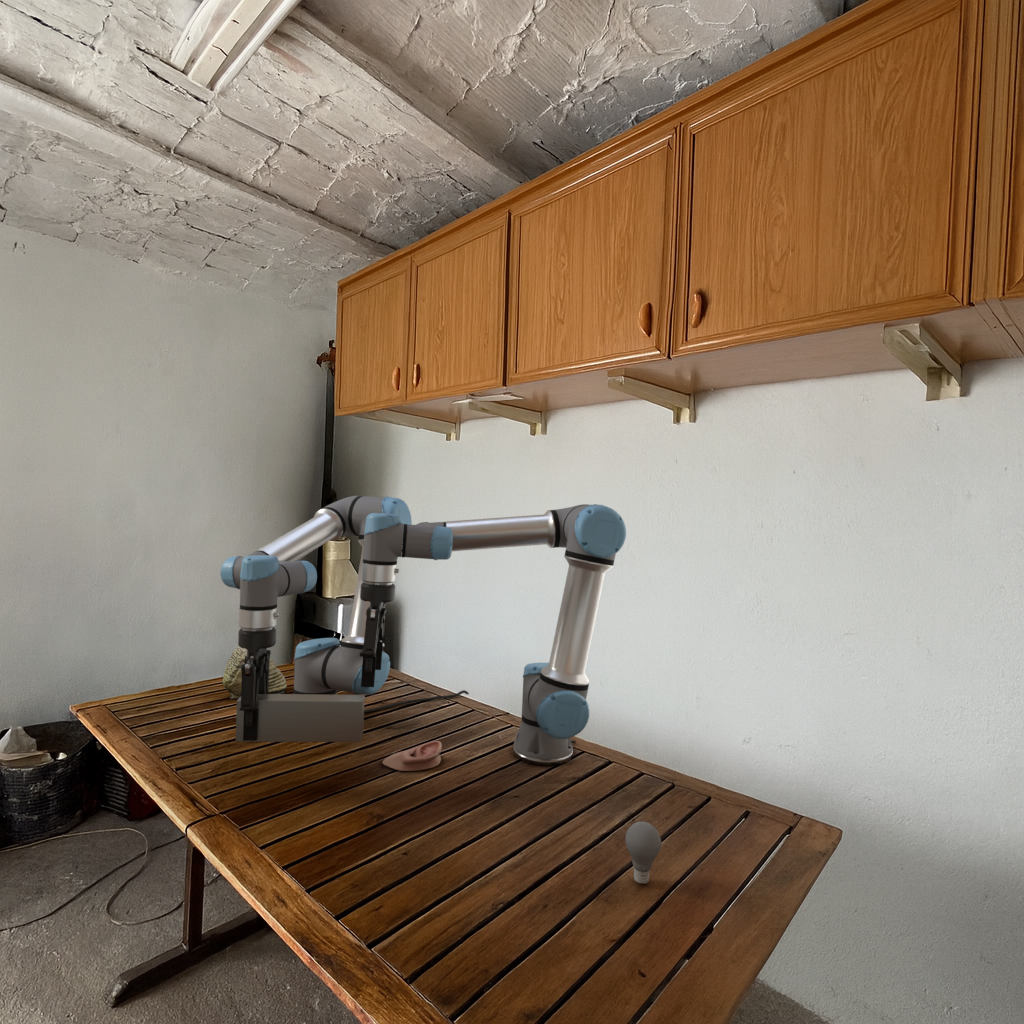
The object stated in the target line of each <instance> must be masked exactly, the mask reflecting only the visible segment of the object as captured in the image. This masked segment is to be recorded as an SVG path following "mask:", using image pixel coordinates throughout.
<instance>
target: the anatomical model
mask: <svg viewBox="0 0 1024 1024" xmlns="http://www.w3.org/2000/svg"><path fill="white" fill-rule="evenodd" d="M442 751H443V744H442V742H441V741H439V740H434V741H429V742H426V743H423V744H420V745H417V746H414V747H412V748H410V749H407V750H402V751H399V752H394V753H393V754H390V755H388V756H387V757H386V758H384V760H382V764H383V765H384V766H385V767H388V768H390V769H393V770H396V771H400V772H413V771H422V770H428V769H432V768H435V767H437V766H439V764H441V761H442V757H441V755H440V754H441V752H442Z"/></svg>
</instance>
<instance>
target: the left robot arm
mask: <svg viewBox="0 0 1024 1024" xmlns="http://www.w3.org/2000/svg"><path fill="white" fill-rule="evenodd" d="M371 513H384V514H395V515H399V516H400V521H401V523H403V524H408V525H413V523H412V522H413V521H412V514H411V510H410V508H409V506H408V504H407V503H406V501H404V500H403V499H401V498H400V497H399V498H398V497H392V496H369V495H368V496H367V495H352V496H347V497H344V498H341V499H339V500H337V501H336V500H335V501H334V502H332V503H330V504H327V505H326V506H324V507H322V508H320V509H319V510H317V511H316V512H315V514H314V515H313V517H312V518H310V519H308V520H307V521H305V522H304V523H302V524H300V525H298V526H297V527H295V528H293V529H291V530H290V531H288V532H286V533H284V534H283V535H281V536H279V537H277V538H276V539H274V540H272V541H270V542H269V543H267V544H265V545H264V546H262V547H260V548H257V550H255V551H253V552H251V553H249V554H248V555H246V556H242V555H238V556H230V557H228V558H227V559H225V560H224V562H223V563H222V565H221V567H220V578H221V582H222V583H223V585H225V586H226V587H228V588H233V589H237V590H239V608H238V627H239V629H238V638H237V639H238V640H237V645H238V647H241V648H245V649H247V651H248V652H247V656H245V660H244V664H242V665H241V672H242V684H241V708H239V710H240V711H244V725H243V741H256V740H257V733H258V709H257V700H258V694H268V692H269V691H268V688H269V662H270V658H271V654H272V652H271V650H270V649H269V648H272V647H274V646H275V645H276V644H277V628H275V627H276V626H277V618H279V617H280V613H279V612H277V609H278V598H280V597H287V596H292V595H302V594H304V593H306V592H309V591H311V590H312V589H314V587H315V586H316V584H317V580H318V572H317V570H316V567H315V566H314V564H312V562H309V561H307V560H301V559H303V558H304V557H305V556H308V555H309V554H310V553H312V552H313V551H315V550H316V549H318V548H320V547H322V546H323V545H324V544H326V543H327V542H334V541H337V540H339V539H340V538H343V537H358V539H357V543H359V545H360V546H361V553H360V554H361V556H360V562H359V566H358V572H357V579H356V586H355V591H354V596H353V597H354V598H353V603H352V609H351V615H350V620H349V627H348V633H347V635H346V636H344V637H343V638H342V639H341V641H340V640H339V638H337V637H321V638H313V639H307V640H304V641H302V642H299V643H298V644H297V645H296V647H295V652H294V653H295V654H294V657H293V660H294V661H293V662H294V663H293V664H294V668H293V694H323V695H338V691H340V692H346V693H351V694H354V695H365V696H371V695H374V694H376V693H377V692H379V691H380V690H381V689H382V687H383V686H384V685H385V683H386V681H387V679H388V677H389V674H390V670H391V661H390V656H389V654H388V653H386V652H385V643H384V642H383V641H381V642H383V649H382V663H381V670H375V682H374V687H361V677H362V664H363V657H361V656H360V652H362V651H363V644H364V637H365V629H366V618H367V617H366V611H367V609H368V607H370V602H369V601H363V600H361V599H360V590H361V584H362V583H363V582H364V581H362V580H361V573H362V562H363V549H364V533H365V526H366V518H367V516H368V515H369V514H371ZM403 530H404V529H403ZM463 694H465V695H470V693H469V692H468V691H467V690H460V691H459V692H457V693H455V694H454V693H453V694H448V695H440V696H439V695H438V696H431V697H423V698H416V699H408V700H404V701H399V702H394V703H390V704H385V705H382V706H377V707H373V708H369V709H364V714H365V713H372V712H377V711H381V710H384V709H389V708H392V707H397V706H402V705H406V704H407V705H408V704H413V703H420V702H427V701H435V700H441V699H442V700H443V699H451V698H455V697H458V696H460V695H463Z"/></svg>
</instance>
